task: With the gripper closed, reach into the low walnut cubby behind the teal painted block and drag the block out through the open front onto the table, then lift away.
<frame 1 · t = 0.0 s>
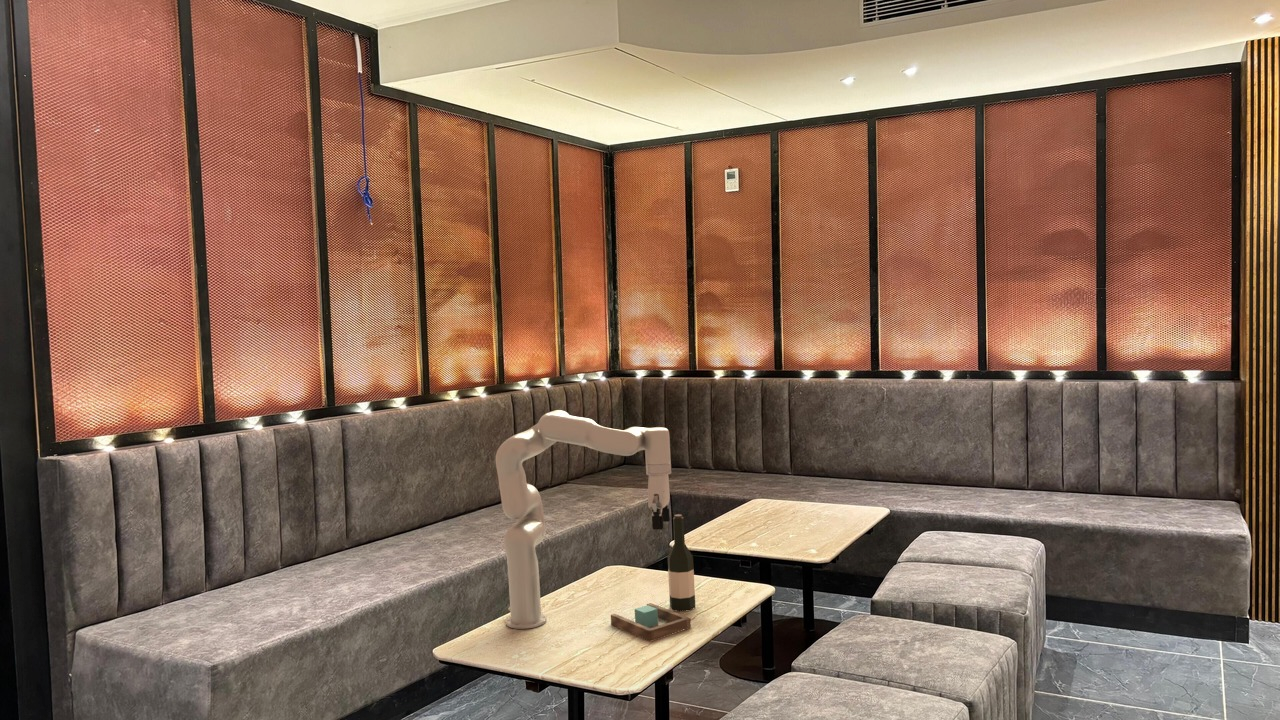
hand: (661, 525, 263), 31 cm above the table, tool pointing down, fingers open, 9 cm apart
wine bottle: (682, 607, 282), on the table
walnut cubby: (648, 625, 267), on the table
teal block: (646, 624, 267), resting in walnut cubby
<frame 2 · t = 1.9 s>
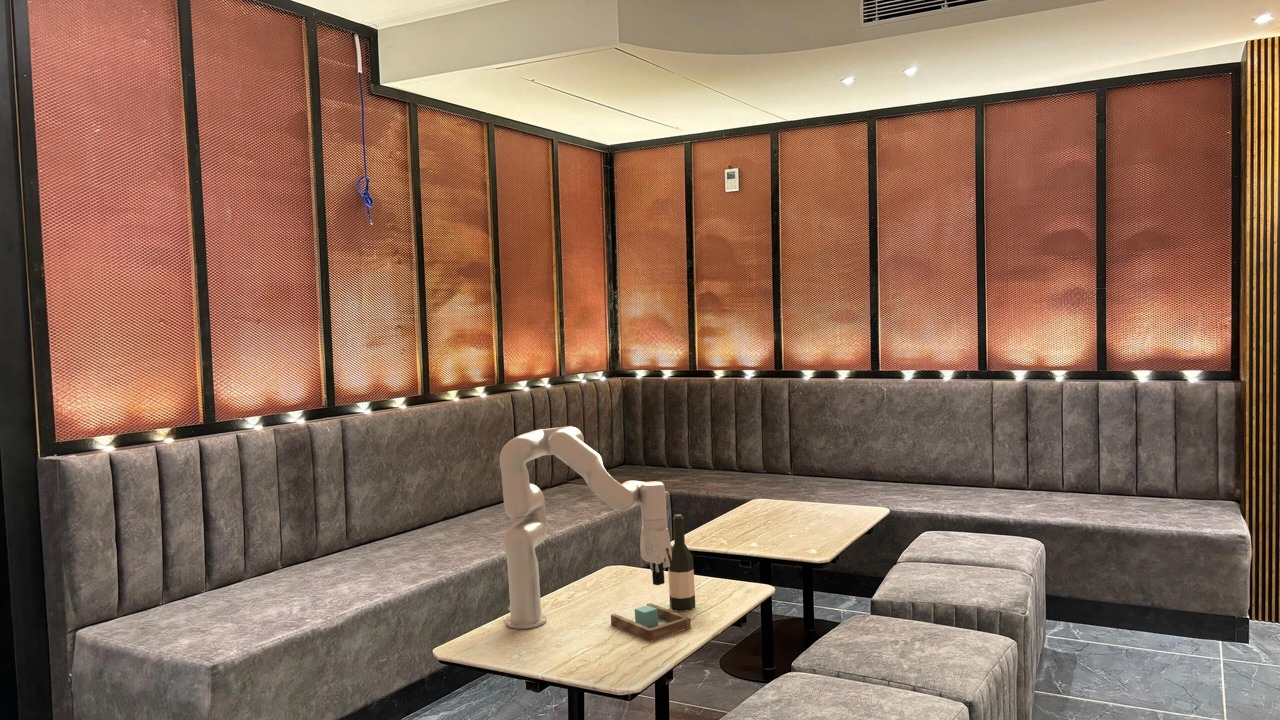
hand: (658, 583, 262), 14 cm above the table, tool pointing down, fingers closed
nothing on the table moved.
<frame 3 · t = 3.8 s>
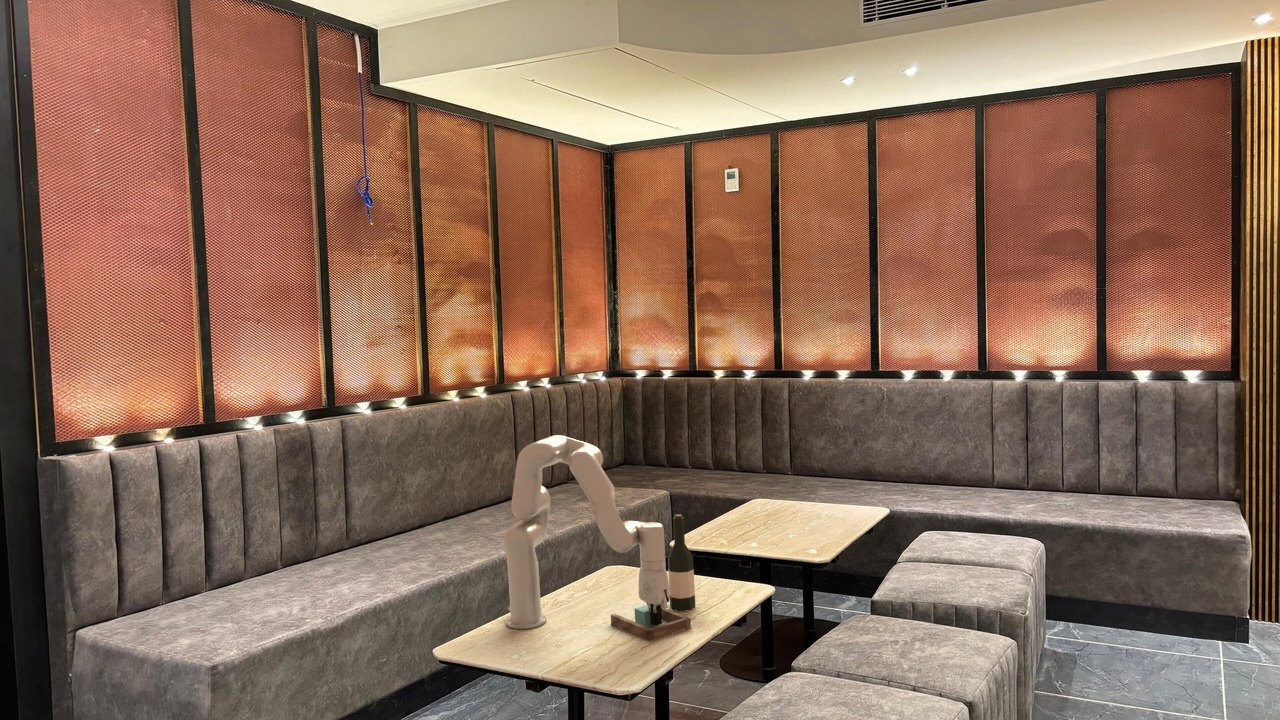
hand: (656, 624, 264), 1 cm above the table, tool pointing down, fingers closed
teal block: (646, 624, 268), resting in walnut cubby, touching gripper
everything else where it was.
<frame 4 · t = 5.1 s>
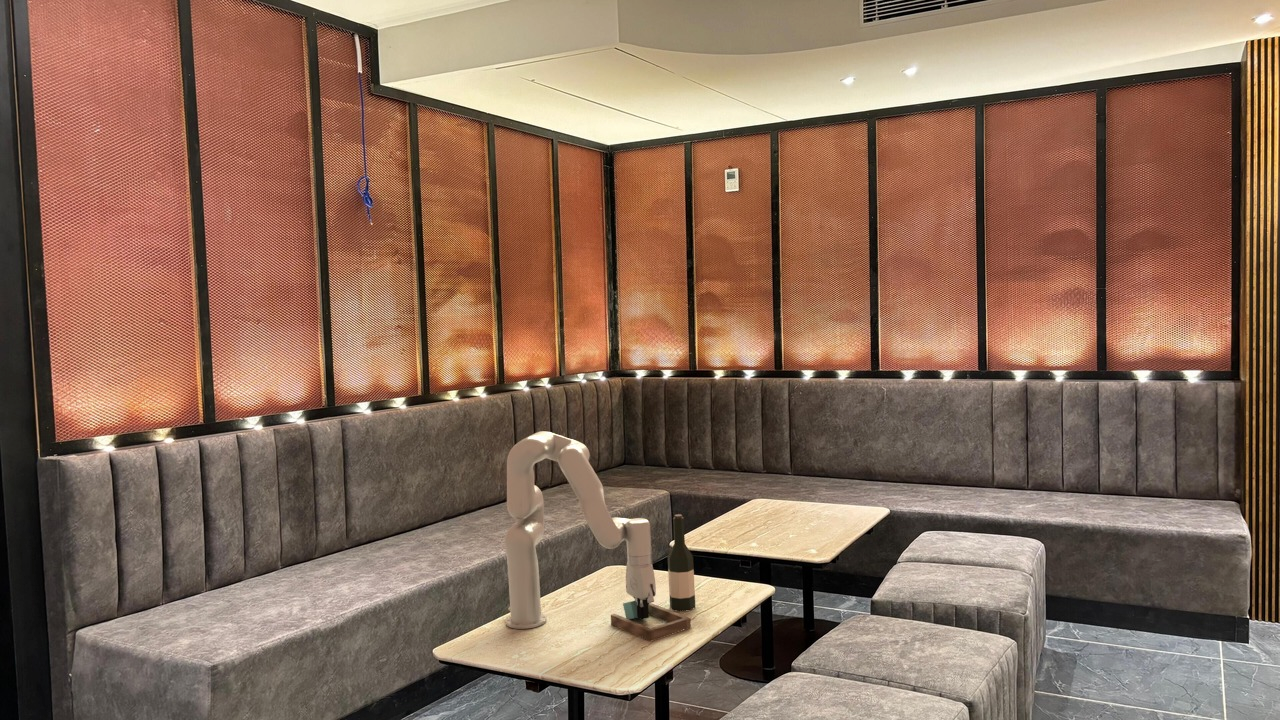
hand: (643, 618, 269), 2 cm above the table, tool pointing down, fingers closed
teal block: (637, 617, 272), point 1 cm above the table, tilted 20°, touching gripper
everything else where it was.
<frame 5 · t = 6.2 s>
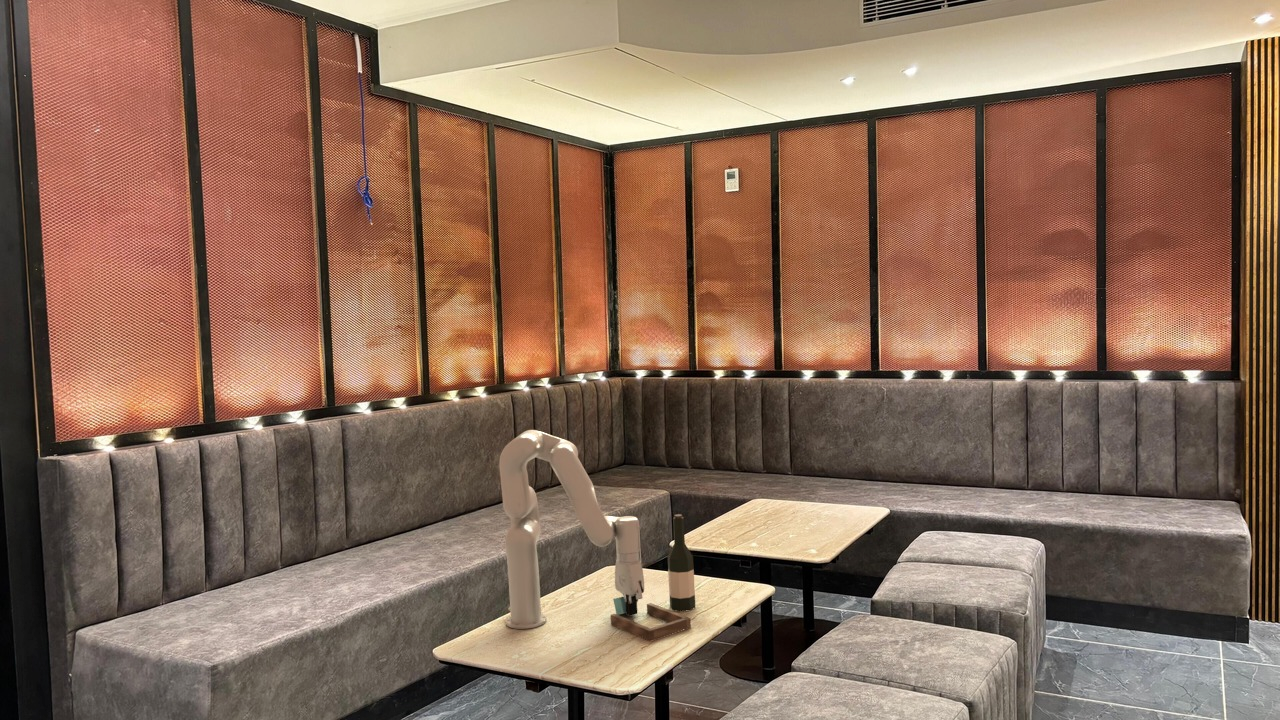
hand: (631, 614, 274), 1 cm above the table, tool pointing down, fingers closed
teal block: (626, 612, 277), point 1 cm above the table, tilted 20°, touching gripper
everything else where it was.
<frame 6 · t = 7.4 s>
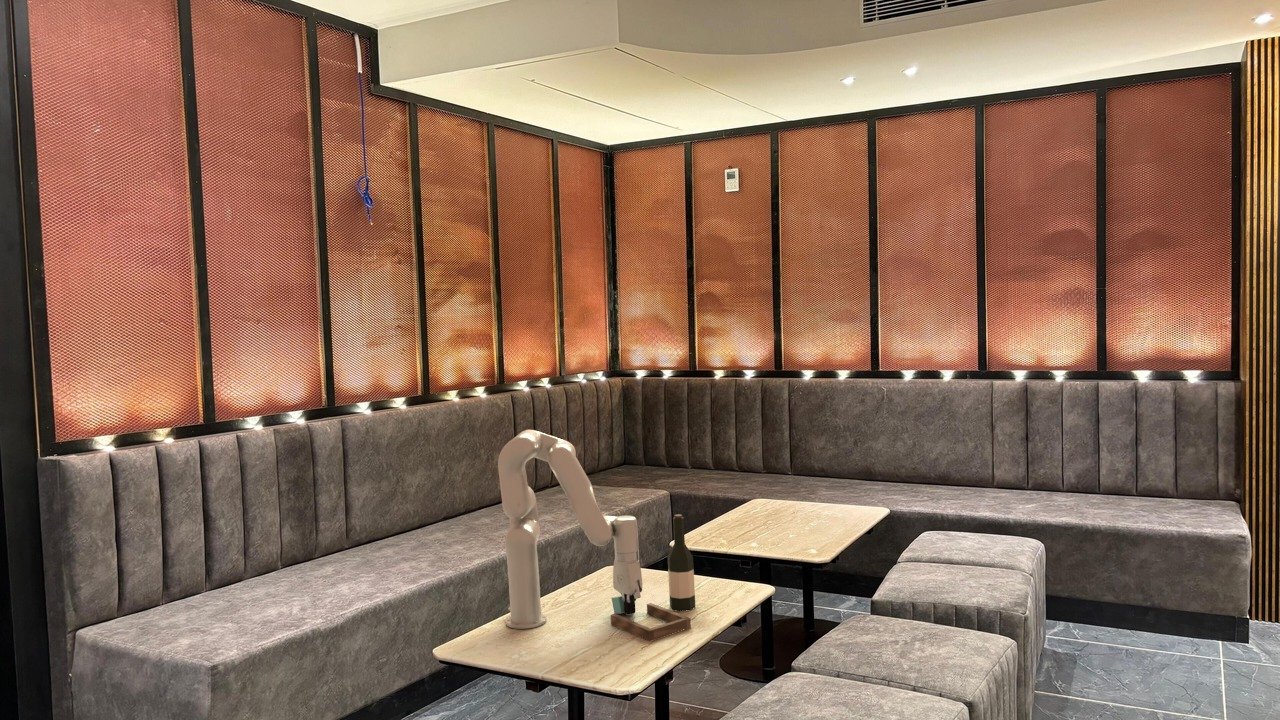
hand: (630, 613, 274), 1 cm above the table, tool pointing down, fingers closed
teal block: (624, 611, 278), point 1 cm above the table, tilted 17°
everything else where it was.
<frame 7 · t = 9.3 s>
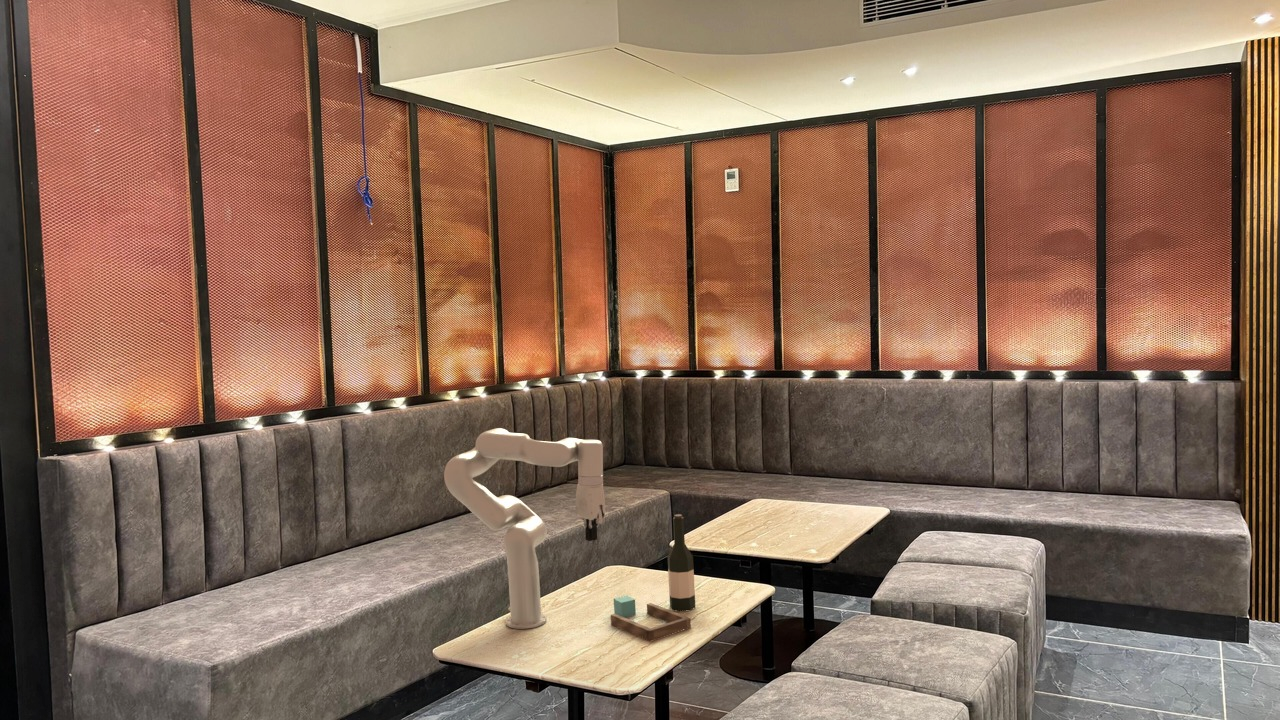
hand: (591, 539, 267), 27 cm above the table, tool pointing down, fingers closed
teal block: (625, 614, 278), on the table
everything else where it was.
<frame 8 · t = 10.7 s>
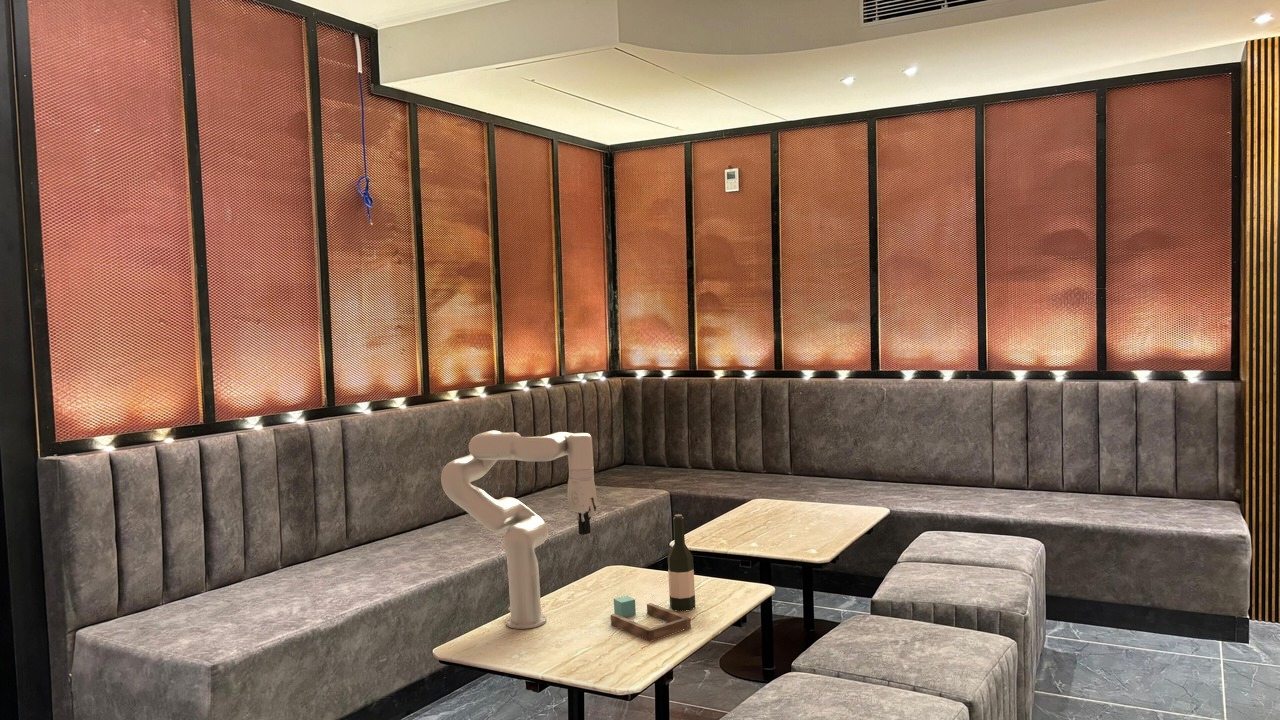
hand: (584, 533, 266), 29 cm above the table, tool pointing down, fingers closed
nothing on the table moved.
at the end: teal block inside the target area (3.2 cm from its centre), on the table; teal block tilted 0°; teal block moved 12.5 cm from its start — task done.
